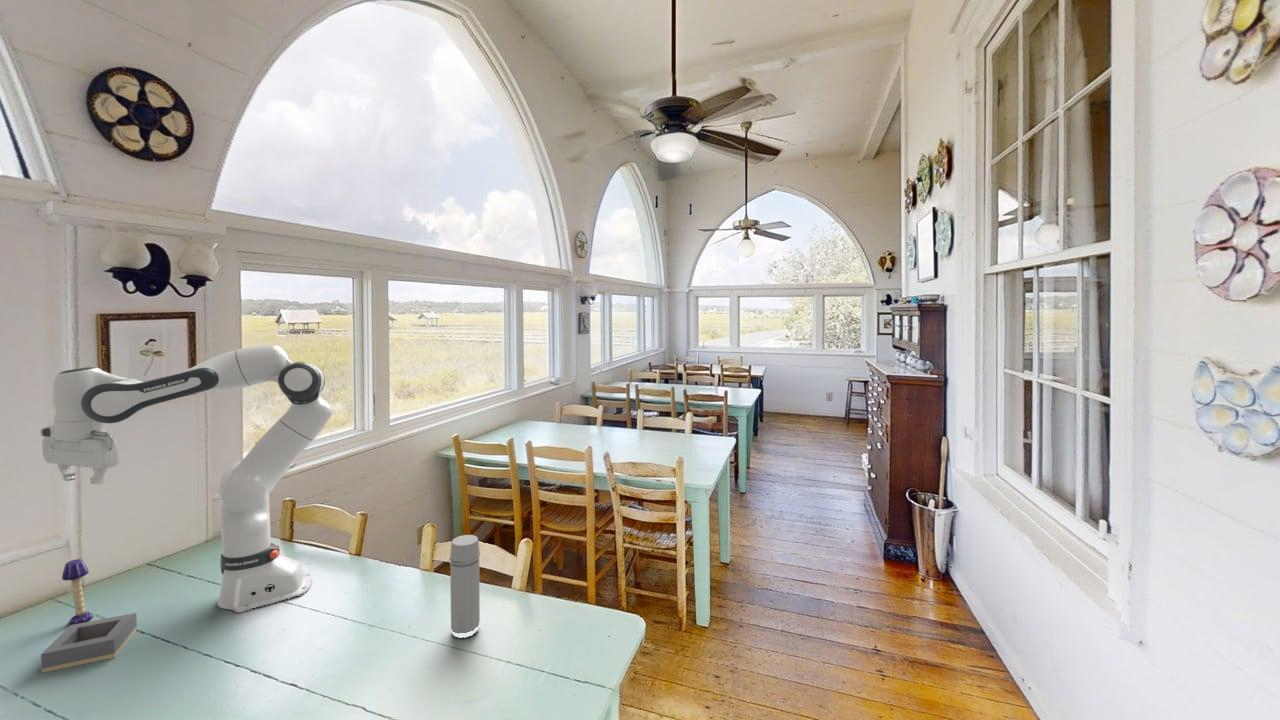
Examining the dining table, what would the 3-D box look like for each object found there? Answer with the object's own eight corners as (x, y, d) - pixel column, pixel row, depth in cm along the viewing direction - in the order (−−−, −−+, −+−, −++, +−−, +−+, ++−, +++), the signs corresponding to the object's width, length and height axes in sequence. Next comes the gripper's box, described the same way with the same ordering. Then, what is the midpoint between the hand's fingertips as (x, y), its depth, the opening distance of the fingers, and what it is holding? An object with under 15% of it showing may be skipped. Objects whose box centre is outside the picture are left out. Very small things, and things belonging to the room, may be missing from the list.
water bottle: (486, 630, 131) (486, 539, 129) (459, 645, 125) (458, 549, 123) (467, 616, 137) (466, 529, 135) (440, 630, 131) (439, 538, 129)
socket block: (137, 629, 128) (136, 612, 128) (114, 657, 118) (113, 639, 118) (71, 642, 123) (70, 625, 123) (42, 672, 112) (41, 654, 112)
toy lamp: (73, 628, 128) (69, 566, 127) (60, 625, 129) (56, 564, 128) (97, 617, 133) (93, 557, 132) (84, 615, 134) (80, 555, 133)
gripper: (126, 430, 129) (128, 481, 130) (67, 424, 133) (69, 474, 134) (96, 435, 123) (98, 489, 124) (34, 429, 127) (37, 482, 128)
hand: (83, 481), depth 129 cm, fingers open, 8 cm apart
